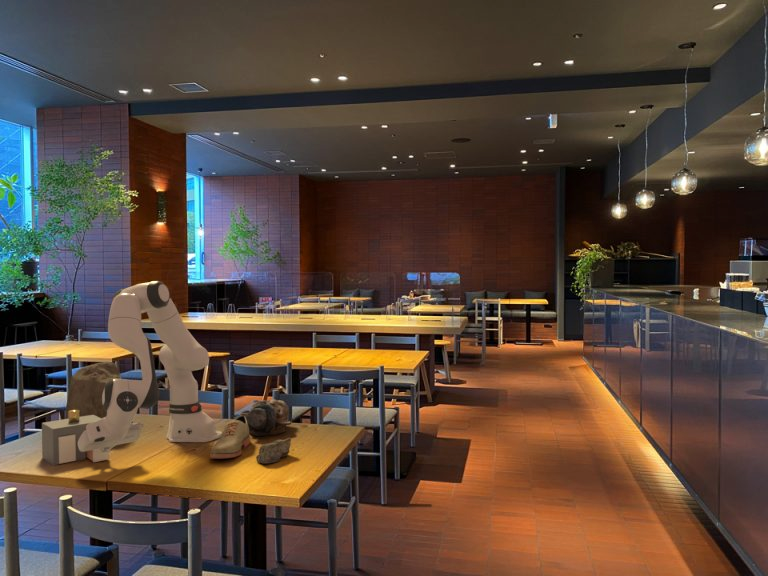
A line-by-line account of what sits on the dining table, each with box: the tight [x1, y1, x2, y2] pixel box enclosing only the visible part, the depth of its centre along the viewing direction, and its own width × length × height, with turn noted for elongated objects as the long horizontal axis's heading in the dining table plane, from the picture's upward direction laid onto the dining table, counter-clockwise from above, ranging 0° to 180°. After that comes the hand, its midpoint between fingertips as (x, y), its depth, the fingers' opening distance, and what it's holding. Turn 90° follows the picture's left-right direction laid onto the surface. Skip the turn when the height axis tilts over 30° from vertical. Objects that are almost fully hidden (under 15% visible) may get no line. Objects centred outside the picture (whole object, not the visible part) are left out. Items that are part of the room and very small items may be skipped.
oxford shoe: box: [209, 415, 251, 460], centre depth 227 cm, size 11×32×12 cm, turn 1°
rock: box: [255, 437, 292, 465], centre depth 218 cm, size 17×7×10 cm
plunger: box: [86, 449, 110, 463], centre depth 220 cm, size 12×5×9 cm, turn 45°
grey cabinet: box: [41, 415, 102, 466], centre depth 222 cm, size 13×18×13 cm
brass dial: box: [68, 410, 79, 423], centre depth 222 cm, size 4×4×4 cm
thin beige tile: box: [58, 434, 77, 465], centre depth 218 cm, size 12×5×9 cm, turn 45°
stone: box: [64, 361, 134, 424], centre depth 260 cm, size 25×34×30 cm
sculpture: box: [240, 398, 292, 438], centre depth 255 cm, size 25×21×14 cm
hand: (104, 450), depth 214 cm, fingers closed
